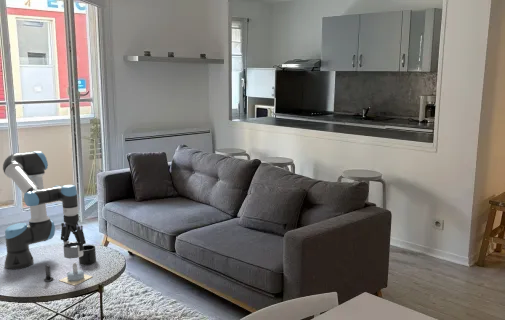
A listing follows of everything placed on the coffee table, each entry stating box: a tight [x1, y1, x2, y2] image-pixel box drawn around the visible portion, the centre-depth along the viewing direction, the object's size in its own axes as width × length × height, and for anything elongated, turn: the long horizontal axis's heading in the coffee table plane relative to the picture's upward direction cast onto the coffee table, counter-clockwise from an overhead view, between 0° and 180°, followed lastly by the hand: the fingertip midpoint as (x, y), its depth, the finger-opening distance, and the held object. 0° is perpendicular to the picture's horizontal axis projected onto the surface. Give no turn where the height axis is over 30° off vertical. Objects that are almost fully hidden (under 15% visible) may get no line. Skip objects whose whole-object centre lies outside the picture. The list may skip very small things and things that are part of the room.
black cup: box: [78, 244, 97, 266], centre depth 282 cm, size 9×12×9 cm
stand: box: [43, 264, 54, 283], centre depth 259 cm, size 5×5×8 cm
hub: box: [58, 262, 93, 286], centre depth 260 cm, size 12×12×9 cm
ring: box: [62, 240, 84, 260], centre depth 258 cm, size 9×9×6 cm
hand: (74, 254), depth 258 cm, fingers closed on ring, 9 cm apart
